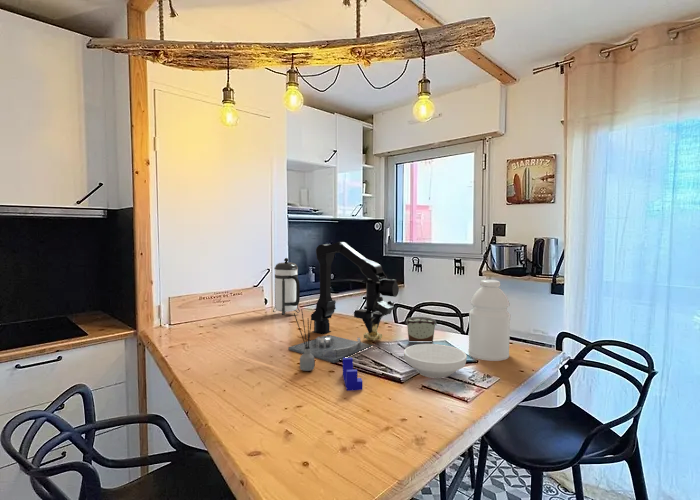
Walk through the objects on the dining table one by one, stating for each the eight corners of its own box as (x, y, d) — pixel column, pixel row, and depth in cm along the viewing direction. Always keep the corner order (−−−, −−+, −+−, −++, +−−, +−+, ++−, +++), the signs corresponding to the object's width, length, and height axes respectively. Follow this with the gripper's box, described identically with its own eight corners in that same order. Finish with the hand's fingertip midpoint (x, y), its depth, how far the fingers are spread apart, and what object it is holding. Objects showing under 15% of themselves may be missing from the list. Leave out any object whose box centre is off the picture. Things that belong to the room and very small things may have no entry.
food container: (434, 340, 164) (435, 316, 163) (436, 345, 158) (436, 320, 157) (404, 339, 165) (404, 316, 164) (405, 343, 159) (405, 319, 158)
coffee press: (267, 315, 209) (267, 258, 208) (278, 309, 225) (277, 256, 224) (299, 316, 207) (299, 259, 205) (307, 310, 222) (307, 257, 221)
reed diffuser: (319, 373, 126) (320, 311, 125) (299, 377, 122) (299, 313, 121) (307, 363, 135) (307, 305, 133) (288, 367, 131) (287, 307, 130)
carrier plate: (288, 349, 150) (288, 340, 150) (328, 337, 168) (328, 329, 168) (334, 363, 135) (334, 353, 135) (372, 347, 153) (373, 338, 153)
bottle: (461, 357, 142) (463, 280, 141) (478, 349, 152) (480, 277, 151) (499, 367, 133) (502, 284, 131) (515, 357, 143) (517, 280, 141)
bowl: (429, 391, 112) (430, 367, 112) (391, 369, 130) (391, 348, 129) (480, 380, 121) (480, 357, 121) (438, 360, 139) (438, 340, 138)
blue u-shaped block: (362, 391, 113) (362, 371, 112) (346, 392, 112) (347, 371, 112) (356, 376, 124) (356, 357, 124) (342, 376, 124) (342, 357, 124)
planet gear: (359, 338, 162) (360, 323, 162) (370, 334, 168) (370, 320, 168) (375, 341, 157) (375, 326, 157) (385, 337, 163) (385, 323, 163)
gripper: (376, 299, 149) (375, 340, 150) (402, 293, 164) (401, 330, 165) (353, 296, 156) (352, 335, 157) (379, 290, 171) (379, 326, 172)
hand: (372, 331), depth 162 cm, fingers closed on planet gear, 4 cm apart
